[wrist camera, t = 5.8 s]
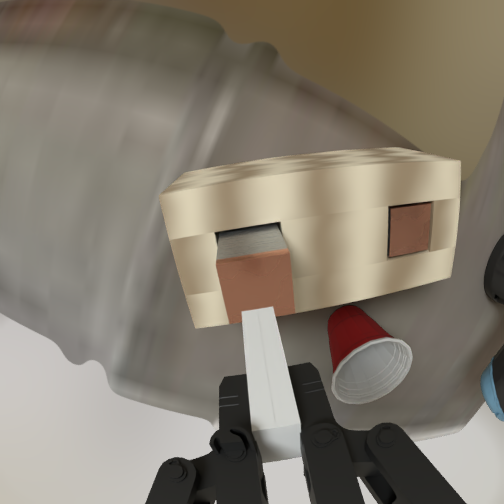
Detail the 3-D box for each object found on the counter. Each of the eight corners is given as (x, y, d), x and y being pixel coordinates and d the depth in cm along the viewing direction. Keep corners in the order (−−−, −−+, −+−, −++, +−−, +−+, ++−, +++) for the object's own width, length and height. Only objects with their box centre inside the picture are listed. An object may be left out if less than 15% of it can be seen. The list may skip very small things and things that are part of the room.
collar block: (398, 147, 31) (460, 161, 20) (398, 236, 36) (450, 277, 25) (184, 172, 31) (158, 195, 20) (205, 268, 36) (195, 328, 25)
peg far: (385, 183, 30) (430, 203, 22) (385, 219, 32) (427, 249, 24) (350, 186, 30) (390, 209, 22) (352, 224, 32) (389, 257, 24)
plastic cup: (375, 278, 38) (417, 328, 27) (379, 332, 43) (410, 384, 32) (303, 302, 39) (326, 364, 28) (316, 355, 43) (336, 414, 32)
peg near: (270, 211, 25) (289, 252, 17) (276, 256, 27) (295, 313, 19) (220, 219, 25) (215, 264, 17) (229, 264, 27) (229, 323, 19)
